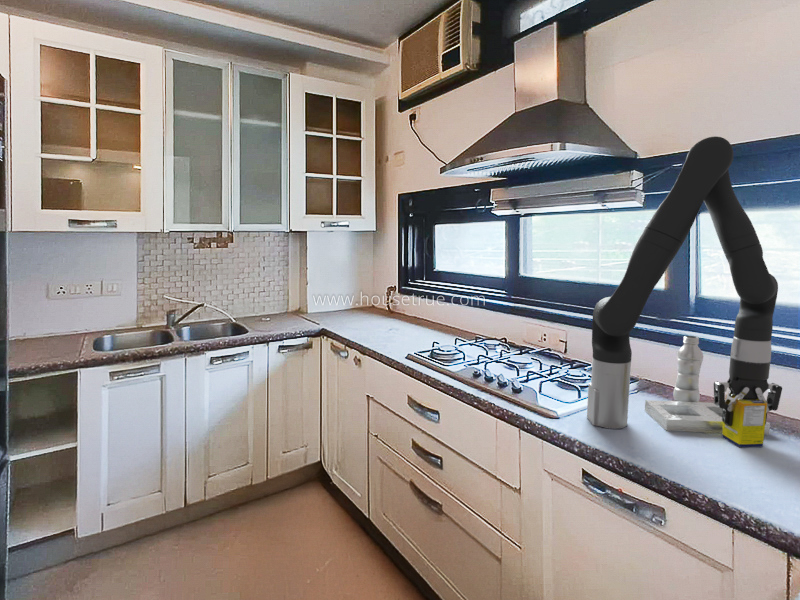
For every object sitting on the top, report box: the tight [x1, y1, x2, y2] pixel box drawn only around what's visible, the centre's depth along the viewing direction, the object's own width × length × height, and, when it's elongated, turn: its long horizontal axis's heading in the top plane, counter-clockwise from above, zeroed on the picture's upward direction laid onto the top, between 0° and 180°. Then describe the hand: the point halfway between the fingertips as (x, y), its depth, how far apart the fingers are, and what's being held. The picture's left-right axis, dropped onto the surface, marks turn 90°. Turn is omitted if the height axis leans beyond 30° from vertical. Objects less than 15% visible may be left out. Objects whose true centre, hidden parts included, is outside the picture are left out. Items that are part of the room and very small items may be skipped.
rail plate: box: [644, 399, 771, 436], centre depth 125 cm, size 24×14×3 cm, turn 83°
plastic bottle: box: [672, 335, 704, 402], centre depth 138 cm, size 6×7×20 cm
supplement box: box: [721, 394, 767, 448], centre depth 113 cm, size 6×6×11 cm
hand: (743, 425), depth 113 cm, fingers closed on supplement box, 6 cm apart
